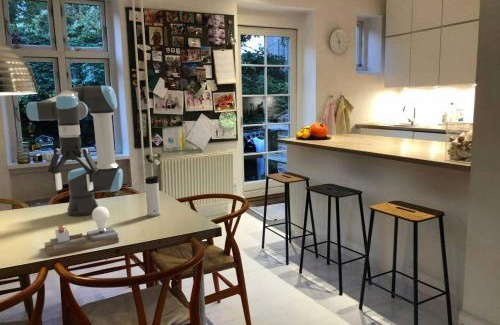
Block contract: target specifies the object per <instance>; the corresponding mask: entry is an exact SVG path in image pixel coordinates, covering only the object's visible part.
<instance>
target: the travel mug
mask: <svg viewBox="0 0 500 325" xmlns="http://www.w3.org/2000/svg"><path fill="white" fill-rule="evenodd" d="M159 177H160V176H159V175H153V176H148V177H145V183H144V184H145V196H146V197H145V198H146V211H147V212H146V216H148V217H151V218H153V217H159V216H160V215H161V205H160V204H161V202H160V201H161V200H160V189H159V188H160V186H159V185H160V184H159Z"/></svg>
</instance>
